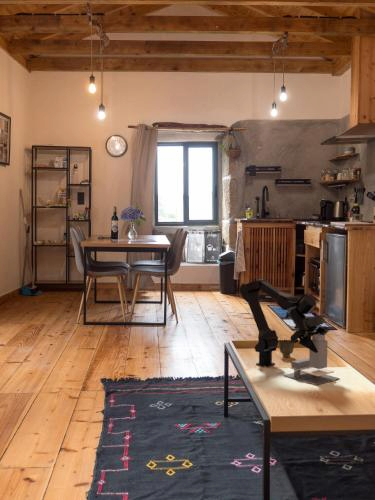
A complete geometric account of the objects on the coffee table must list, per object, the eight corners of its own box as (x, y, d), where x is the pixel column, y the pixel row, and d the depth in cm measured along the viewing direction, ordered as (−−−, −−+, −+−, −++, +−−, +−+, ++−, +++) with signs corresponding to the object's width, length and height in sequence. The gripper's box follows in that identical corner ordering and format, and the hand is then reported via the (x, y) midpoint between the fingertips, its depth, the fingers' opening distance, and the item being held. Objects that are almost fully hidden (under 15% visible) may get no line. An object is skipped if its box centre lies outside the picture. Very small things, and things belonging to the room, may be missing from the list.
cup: (295, 359, 252) (295, 342, 252) (279, 359, 253) (280, 342, 252) (292, 355, 260) (292, 339, 260) (277, 355, 260) (277, 339, 260)
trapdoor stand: (283, 376, 223) (283, 366, 223) (307, 370, 232) (307, 361, 232) (316, 385, 209) (316, 375, 209) (339, 379, 218) (339, 369, 218)
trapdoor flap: (290, 368, 223) (290, 361, 223) (306, 365, 229) (306, 358, 229) (318, 376, 211) (318, 368, 211) (334, 372, 217) (334, 365, 217)
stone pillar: (309, 366, 218) (309, 335, 218) (317, 364, 221) (317, 333, 221) (319, 369, 214) (319, 337, 214) (327, 367, 217) (327, 335, 217)
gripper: (296, 310, 214) (317, 343, 206) (326, 307, 225) (347, 337, 217) (281, 327, 221) (301, 359, 212) (311, 322, 232) (331, 352, 224)
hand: (321, 351), depth 216 cm, fingers closed on stone pillar, 5 cm apart
